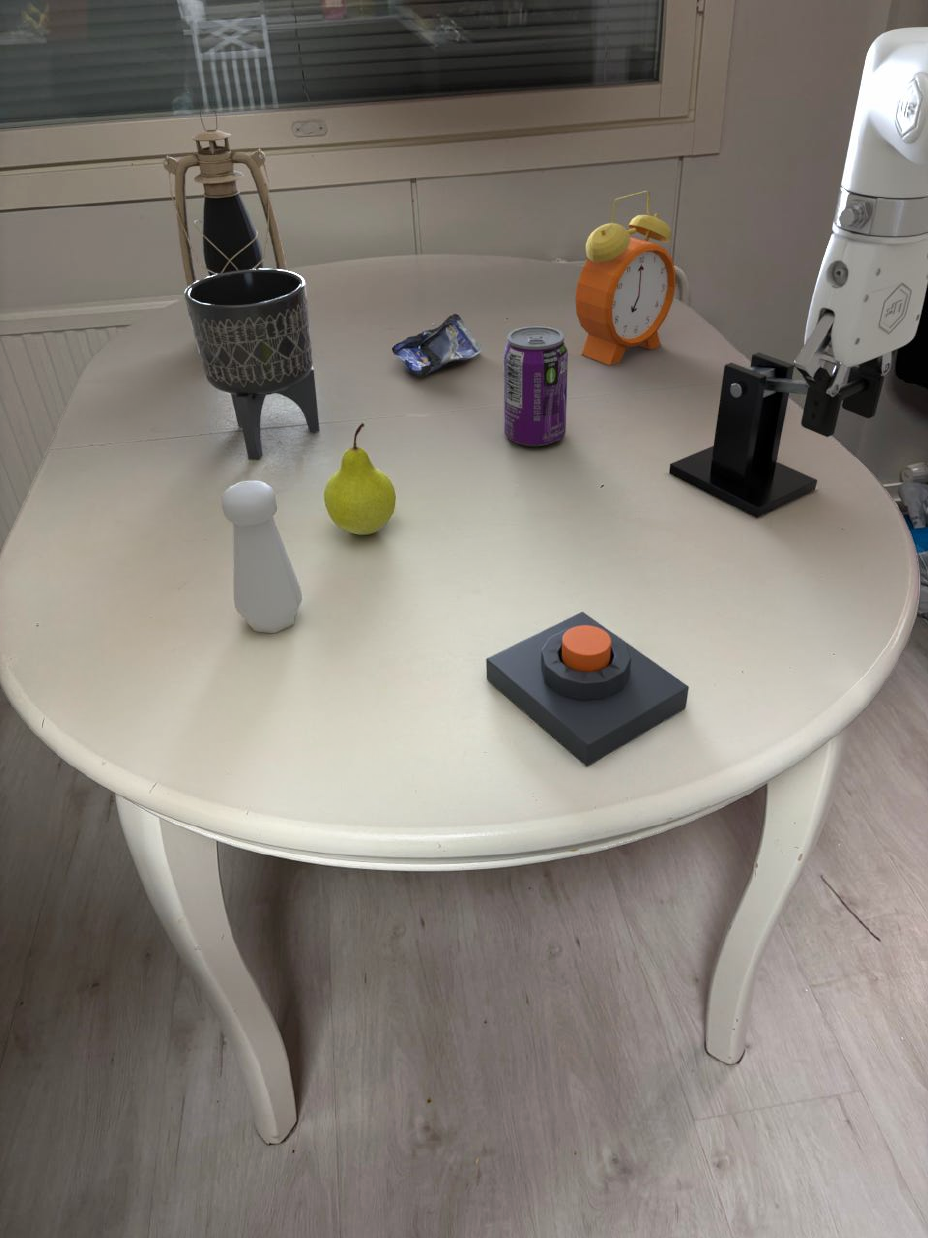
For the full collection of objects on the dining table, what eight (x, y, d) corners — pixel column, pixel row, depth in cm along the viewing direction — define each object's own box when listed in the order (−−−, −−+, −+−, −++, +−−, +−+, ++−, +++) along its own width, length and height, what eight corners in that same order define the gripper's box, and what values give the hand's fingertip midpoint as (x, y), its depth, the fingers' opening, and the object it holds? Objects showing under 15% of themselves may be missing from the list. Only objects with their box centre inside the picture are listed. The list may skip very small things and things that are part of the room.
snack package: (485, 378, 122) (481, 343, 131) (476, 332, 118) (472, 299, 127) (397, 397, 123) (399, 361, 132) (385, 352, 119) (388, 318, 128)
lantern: (194, 351, 134) (143, 117, 116) (201, 323, 143) (154, 103, 125) (296, 341, 135) (260, 110, 117) (295, 314, 144) (263, 96, 126)
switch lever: (869, 397, 84) (869, 371, 83) (834, 413, 82) (834, 386, 81) (762, 386, 93) (761, 362, 92) (728, 399, 91) (727, 375, 90)
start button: (619, 660, 69) (621, 642, 68) (583, 679, 68) (584, 661, 67) (587, 637, 72) (588, 619, 71) (552, 655, 70) (552, 637, 69)
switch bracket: (815, 490, 95) (841, 371, 88) (756, 518, 91) (778, 396, 84) (726, 449, 103) (742, 336, 96) (668, 473, 99) (680, 358, 92)
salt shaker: (249, 647, 78) (219, 514, 70) (231, 612, 82) (200, 483, 74) (315, 626, 80) (292, 494, 72) (293, 593, 84) (270, 465, 76)
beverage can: (567, 450, 105) (571, 346, 97) (504, 452, 105) (503, 349, 98) (563, 422, 110) (566, 323, 103) (503, 424, 110) (502, 325, 103)
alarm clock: (604, 369, 122) (613, 209, 110) (572, 357, 126) (577, 200, 114) (671, 343, 129) (687, 189, 117) (638, 332, 133) (650, 181, 121)
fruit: (316, 527, 93) (299, 416, 86) (373, 504, 96) (361, 396, 89) (353, 555, 89) (337, 441, 82) (411, 531, 92) (401, 419, 85)
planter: (305, 466, 104) (280, 308, 93) (198, 459, 106) (162, 304, 96) (340, 416, 114) (321, 269, 103) (241, 411, 116) (213, 266, 106)
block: (686, 708, 70) (692, 668, 68) (586, 767, 66) (589, 726, 63) (581, 631, 78) (583, 593, 76) (486, 679, 74) (485, 640, 71)
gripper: (859, 243, 67) (811, 465, 79) (990, 201, 75) (929, 409, 86) (776, 222, 72) (742, 434, 84) (907, 185, 80) (860, 384, 91)
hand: (837, 419), depth 85 cm, fingers closed on switch lever, 5 cm apart
